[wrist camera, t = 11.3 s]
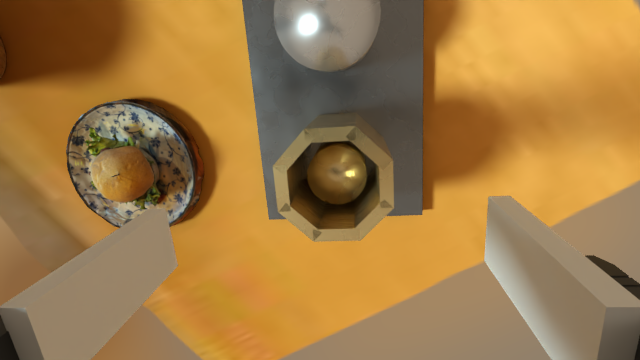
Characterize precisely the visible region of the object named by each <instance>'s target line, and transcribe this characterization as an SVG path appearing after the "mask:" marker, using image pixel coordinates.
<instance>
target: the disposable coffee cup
mask: <svg viewBox="0 0 640 360" xmlns="http://www.w3.org/2000/svg"><path fill="white" fill-rule="evenodd" d="M5 67H6V53H5V49H4V45H3V42H2V40H1V38H0V79H1V77H2V76H3V74H4V71H5Z"/></svg>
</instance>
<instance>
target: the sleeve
mask: <svg viewBox="0 0 640 360" xmlns="http://www.w3.org/2000/svg"><path fill="white" fill-rule="evenodd" d="M333 141H351V142H352V143H353V144H354V145H355V146H357V147H358V148H359V149H360V150H361V151H362V152H363V153H364V154H366V155H367V156H368V157H369V158H370V159H371V160H372V161H374V170H373V171H372V172H371V173H370V174H369V175H368V176H367V178H366V184H365V187H364V189H363V190H362V192H361V193H360V194H359V196H357V197H356V198H355V199H354V200H352V201H350V202H347V203H344V204H331V203H327V202H325V201H323V200H321V199H320V198H318V197H317V196H316V195H315V194H314V193H313V192H312V190H311V188H310V186H309V183H308V179H307V172H308V166H307V154H306V148H307V147H308V145H309V144H310V143H316V142H333ZM273 173H274V182H275V191H276V199H277V208H278V212H279V213H280V214H281V215H282V216H284V217H285V218H286V219H287V220H288V221H290V222H291V223H292V224H293V225H294V226H296V227H297V228H298V229H299V230H300V231H302V232H303V233H304V234H305V235H306V236H308V237H309V238H310V239H311V240H312V241H314V242H315V241H360V240H362V239H363V238H364V237H365V236H366V235H367V234H368V233H369V232H370V231H371V230H372V229H373V228H374V227H375V226H376V225H377V224H378V223H379V222H380V221H381V220H382V219H383V218H384V217H385V216H386V215H387V214H388V213H389V212H390V211H391V210H392V209H393V208H394V182H393V159H392V156H391V154H390V152H389V149H388V147H387V145H386V142H385V140H384V138H383V136H381V135H380V134H379V133H378V132H377V131H376V130H375V129H374V128H373V127H371V126H370V125H369V124H368V123H367V122H366V121H365V120H364V119H363V118H361V117H360V116H359V115H358V114H357V113H342V114H327V115H318V116H317V117H316V118H315V119H314V120H313V121H312V122H311V123H310V124H309V125H308V126H307V127H306V128H305V129H304V130H303V131H302V132H301V133H300V134H299V136H298V137H297V138H296V139H295V140H294V141H293V143H292V144H291V145H290V146H289V147H288V148H287V150H286V151H285V152H284V153H283V154H282V156H281V157H280V158H279V159H278V160H277V161H276V163H275V164H274V165H273Z"/></svg>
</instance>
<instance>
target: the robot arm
mask: <svg viewBox="0 0 640 360" xmlns="http://www.w3.org/2000/svg"><path fill="white" fill-rule="evenodd" d="M484 261H485V262H486V264H487V265H488V267H489V268H490V270H491V271H492V273H493V274H494V275H495V277H496V279H497V280H498V281H499V283H500V284H501V286H502V287H503V289H504V290H505V292H506V293H507V294H508V296H509V298H510V299H511V301H512V302H513V304H514V305H515V306H516V308H517V309H518V311H519V312H520V314H521V315H522V317H523V318H524V320H525V321H526V323H527V324H528V326H529V327H530V328H531V330H532V331H533V333H534V334H535V336H536V337H537V339H538V340H539V342H540V343H541V345H542V346H543V348H544V349H545V351H546V352H547V354H548V355H549V356H550V358H551V359H552V360H640V284H639V283H638V282H636V281H635V280H634V279H632V278H629V277H628V275H627V274H626V273H624V272H623V271H622V270H620V269H619V268H617V267H616V266H615V265H613V264H611V263H609V262H607V261H605V260H602V259H600V258H598V257H596V256H584V255H583V254H582V253H580V252H579V251H578V250H577V249H575V248H574V247H573V246H572V245H570V244H569V243H568V242H567V241H565V240H564V239H563V238H562V237H560V236H559V235H558V234H557V233H555V232H554V231H553V230H552V229H551V228H549V227H548V226H547V225H546V224H544V223H543V222H542V221H541V220H539V219H538V218H537V217H536V216H534V215H533V214H532V213H531V212H529V211H528V210H527V209H526V208H524V207H523V206H522V205H521V204H519V203H518V202H517V201H516V200H514V199H513V198H512V197H511V196H490V197H489V198H488V213H487V229H486V244H485V260H484ZM177 266H178V264H177V259H176V255H175V250H174V245H173V241H172V236H171V232H170V227H169V222H168V218H167V213H166V208H162V209H148V210H146V211H145V212H143V213H142V214H140V215H139V216H137V217H136V218H134V219H133V220H131V221H130V222H128V223H127V224H125V225H123V226H122V227H120V228H119V229H117V230H116V231H114V232H113V233H111V234H110V235H108V236H107V237H105V238H104V239H102V240H101V241H99V242H98V243H96V244H94V245H93V246H91V247H90V248H88V249H87V250H85V251H84V252H82V253H81V254H79V255H78V256H76V257H75V258H73V259H72V260H70V261H69V262H67V263H65V264H64V265H62V266H61V267H59V268H58V269H56V270H55V271H53V272H52V273H50V274H49V275H47V276H46V277H44V278H43V279H41V280H40V281H38V282H36V283H35V284H33V285H32V286H30V287H29V288H27V289H26V290H24V291H23V292H21V293H20V294H18V295H17V296H15V297H14V298H12V299H11V300H9V301H7V302H6V303H4V304H3V305H1V306H0V360H91V359H92V358H93V357H94V356H95V355H96V353H97V352H98V351H99V350H100V349H101V348H102V347H103V346H104V345H105V344H106V343H107V342H108V341H109V340H110V338H111V337H112V336H113V335H114V334H115V333H116V332H117V331H118V330H119V329H120V328H121V326H122V325H123V324H124V323H125V322H126V321H127V320H128V319H129V318H130V317H131V316H132V315H133V314H134V312H135V311H136V310H137V309H138V308H139V307H140V306H141V305H142V304H143V303H144V302H145V301H146V300H147V299H148V297H149V296H150V295H151V294H152V293H153V292H154V291H155V290H156V289H157V288H158V287H159V286H160V284H161V283H162V282H163V281H164V280H165V279H166V278H167V277H168V276H169V275H170V274H171V273H172V272H173V270H174V269H175V268H176V267H177Z"/></svg>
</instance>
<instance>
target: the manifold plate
mask: <svg viewBox="0 0 640 360" xmlns="http://www.w3.org/2000/svg"><path fill="white" fill-rule="evenodd" d="M242 3H243V11H244V19H245V27H246V35H247V44H248V52H249V60H250V68H251V76H252V84H253V93H254V101H255V109H256V117H257V125H258V133H259V141H260V150H261V158H262V166H263V174H264V182H265V190H266V199H267V207H268V215H269V219H286V218H285V217H284V216H282V215H281V214H280V213H279V212H278V208H277V199H276V191H275V182H274V173H273V165H274V164H275V163H276V161H277V160H278V159H279V158H280V157H281V156H282V154H283V153H284V152H285V151H286V150H287V148H288V147H289V146H290V145H291V144H292V143H293V141H294V140H295V139H296V138H297V137H298V136H299V134H300V133H301V132H302V131H303V130H304V129H305V128H306V127H307V126H308V125H309V124H310V123H311V122H312V121H313V120H314V119H315V118H316V117H317V116H318V115H327V114H342V113H357V114H358V115H359V116H360V117H361V118H363V119H364V120H365V121H366V122H367V123H368V124H369V125H370V126H371V127H373V128H374V129H375V130H376V131H377V132H378V133H379V134H380V135H381V136H383V138H384V140H385V142H386V145H387V147H388V149H389V152H390V154H391V156H392V159H393V182H394V208H393V209H392V210H391V211H390V212H389V213H388V214H387V215H386V216H401V215H422V189H423V0H242ZM306 154H307V166H308V172H307V179H308V183H309V186H310V188H311V190H312V192H313V193H314V194H315V195H316V196H317V197H318V198H320V199H321V200H323V201H325V202H327V203H331V204H344V203H347V202H350V201H352V200H354V199H355V198H356V197H357V196H359V194H360V193H361V192H362V190H363V189H364V187H365V184H366V178H367V176H368V175H369V174H370V173H371V172H372V171H373V170H374V161H372V160H371V159H370V158H369V157H368V156H367V155H366V154H364V153H363V152H362V151H361V150H360V149H359V148H358V147H357V146H355V145H354V144H353V143H352V142H351V141H333V142H316V143H310V144H309V145H308V147H307V148H306Z"/></svg>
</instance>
